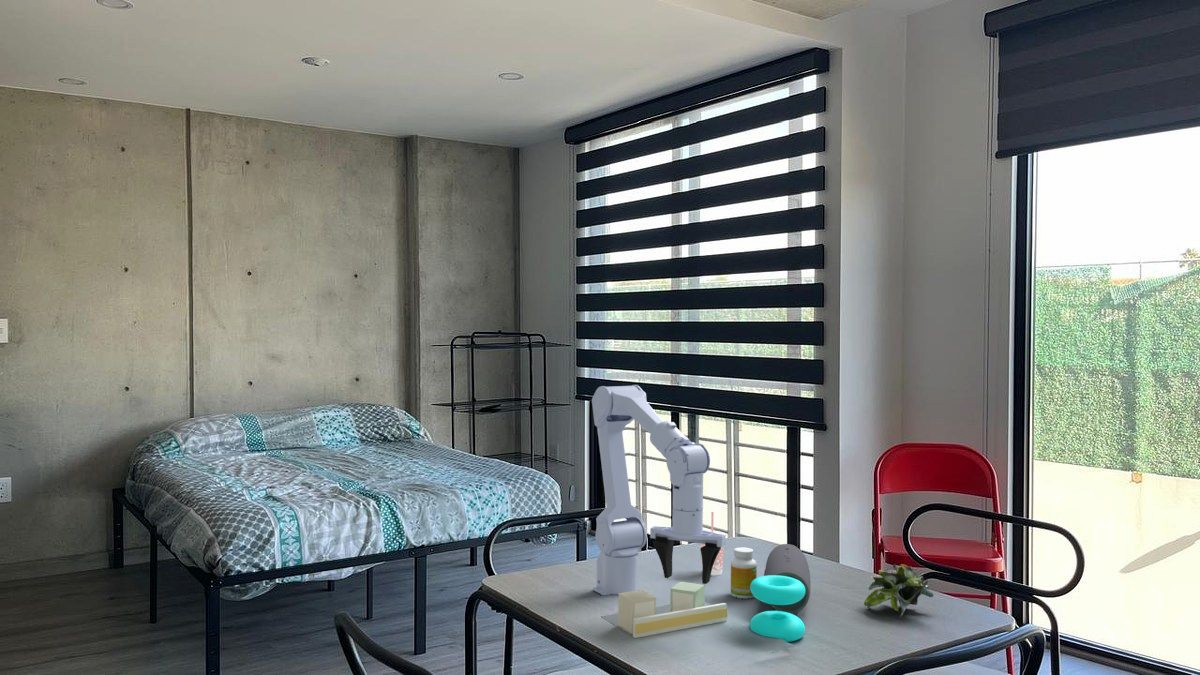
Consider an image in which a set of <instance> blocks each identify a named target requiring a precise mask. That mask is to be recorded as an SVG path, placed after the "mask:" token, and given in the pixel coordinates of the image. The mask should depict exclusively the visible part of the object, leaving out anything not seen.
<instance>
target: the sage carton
mask: <svg viewBox="0 0 1200 675" xmlns="http://www.w3.org/2000/svg"><path fill="white" fill-rule="evenodd" d="M705 585H706V584H701V583H700V584H699V583H693V582H687V581H686V582H685V581H679V582H677V583H676V584H675V585H673V586H671V587H670V595H669V596H670V600H669V601H670V604H669V605H670V612H674V611H680V610H686V609H692V608H697V607H703V606H705V591H706V590H705V587H706V586H705Z"/></svg>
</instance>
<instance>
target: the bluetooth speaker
mask: <svg viewBox="0 0 1200 675" xmlns="http://www.w3.org/2000/svg"><path fill="white" fill-rule="evenodd" d="M809 567H810V566H809V563H808V559H807V557H806V556H805V554H804V552H803V551H802V550H801V549H800V548H798V546H796V545H794V544H790V543H784V544H783V543H782V544H779V545H777V546H775V547H774V548H773V549H772V550H771V551H770V553H769V554H768V557H767V560H766V564H765V569H764V574H763V576H768V575H779V576H787V577H791V578H794V579H797V580H799V581H800V582H801V583H802V584H803V585H804V587H805V595H804V597H803V598H802V599H801V600H800V601H799V602H796V603H794V604H789V605H773V604H769V605H770V606H771V608H773V609H774V611H783V612H787V613H791V614H793V615H795V614H797V613H799V612H801V611H802V610H803V609H804V608H805V607H806V606H807V605H808V603H809V600H810V596H811V573H810V568H809Z"/></svg>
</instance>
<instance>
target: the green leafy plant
mask: <svg viewBox="0 0 1200 675" xmlns="http://www.w3.org/2000/svg"><path fill="white" fill-rule="evenodd" d="M892 567H893V570H891V569H890V568H889V569H888V568H886V570H882V569H879V570H878V574H879V577H878V576H874V575H873V576H872V579H873V580H874V581H872V582H871V584H870V585H869V586H868V591H871V590H873V589H874V590H873V591H872V592H871V593H870V594H869V595H868V596H867V597H866V598H865V600H864V602H863V605H864V606H865V607H867V609H870V608H871V607H872V608H873V607H875V606H877V605H880V604H882V603H884V602H886V601H889V600H890V604H891V607H892V609H894V610H895V611H896V612H899V610H900V609H899V607H900V608H901V613H900V616H899V619H900V618H901V619H902V617H903V616H904V615H903V614H904V613H905V611H906V609H907V607H908V606H910V605H912V606H917V605H918V600H919V597H920V596H921V595H923V596H926V597H929V598H933V597H934V593H933V592H931V591H930V590H928V589H929V588H930V586H929V585H928V581H929V579H926V580H925V579H924V576H923V575H921V574H920V575H919V573H918V572H916V571H914V572H913V570H914V568H913V567H912V566H908V565H906V564H902V563H901V564H900V565H897V564H893V565H892ZM876 588H879V589H876ZM898 602H899V605H898Z"/></svg>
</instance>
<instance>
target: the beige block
mask: <svg viewBox="0 0 1200 675" xmlns="http://www.w3.org/2000/svg"><path fill="white" fill-rule="evenodd" d="M656 601H657V597H656V596H655V595H653V594H651V593H649V592H647V591H645V590H643V589H639V590H637V591H630V592H624V593H619V594H618V609H617V610H618V613H617V614H618V626H620V627H621V628H623V629H625V630H626V631H628V632H629V633H631V634H633V619H634V618H640V617H646V616H652V615H656V607H657V605H656V604H657V603H656Z"/></svg>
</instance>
